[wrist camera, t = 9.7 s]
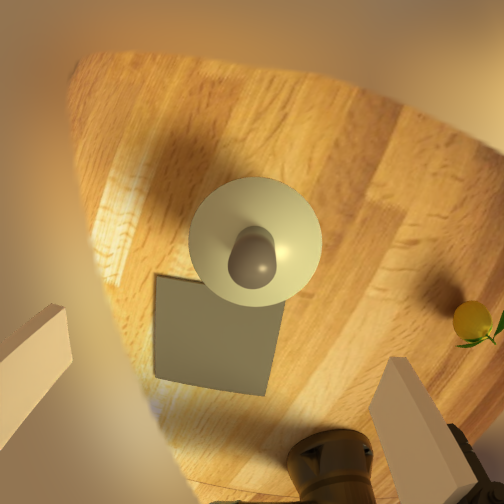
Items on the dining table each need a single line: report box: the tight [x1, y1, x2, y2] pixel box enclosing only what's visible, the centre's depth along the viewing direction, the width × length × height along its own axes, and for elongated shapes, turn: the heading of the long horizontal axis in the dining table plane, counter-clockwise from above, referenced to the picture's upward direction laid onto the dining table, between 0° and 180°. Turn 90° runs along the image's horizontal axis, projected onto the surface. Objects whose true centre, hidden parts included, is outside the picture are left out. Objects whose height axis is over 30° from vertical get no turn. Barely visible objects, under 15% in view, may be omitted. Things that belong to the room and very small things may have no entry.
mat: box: [155, 275, 286, 396], centre depth 41 cm, size 16×16×1 cm
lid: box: [189, 177, 322, 307], centre depth 27 cm, size 12×12×7 cm
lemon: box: [453, 301, 504, 348], centre depth 34 cm, size 7×6×10 cm
